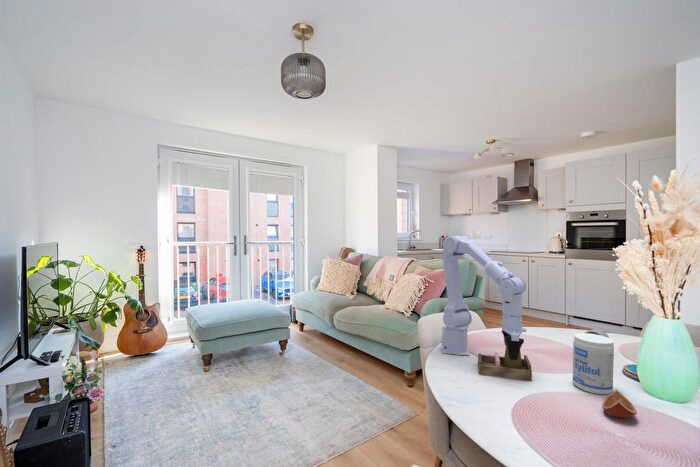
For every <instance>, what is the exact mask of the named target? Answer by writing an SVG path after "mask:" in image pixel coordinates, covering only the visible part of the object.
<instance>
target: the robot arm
mask: <svg viewBox="0 0 700 467" xmlns="http://www.w3.org/2000/svg"><path fill="white" fill-rule="evenodd" d="M442 249H443V252H442V262H443V263H442V264H443V271H444V280H445V289H446V294H447V304H446V305H445V306H444V308H443V316H442V320H443V324H444V325H445V326H442V328H441V353H442V354H447V355H448V354H450V355H458V356H459V355H460V356H469V355H470V354H469V353H470V352H469V350H470V349H469V347H468V342H469V341H468V337H469V336H468V329H469V325H471V324H472V321H473V317H472V314H471V312H470V309H469V305H468V304H466V303H465V302H464V299H463V298H464V297H463V291H462V283H461V282H462V281H461V275H460V274H461V273H460V269H459V260H460V259H461V258H462V256H463V255H465V254H467V255H469V256H470V257H471V258H472V259H474V260H475V261H476V262H477V263H479V264H480V265H481V266H482V267H484V273H485V274H486V275H487V277H489V278H490V279H491V280H492V281H493V282H494V283H495V284H496V285H497V287H498V290H499V292H500V295H501V299H502V326H501V333H502V335H503V340H504V339H505V341H506V343H507V347H508V353H509V358H510V360H517V359H518V356H519V351H520V352H521V348H522V346H523V344H524V342H525V339H524V338H520V337H521V335H522V333H527V328H525V327H523V293H525V291H526V289H527V285H526V282H525V280H524V279H523V277H521V276H520V275H514V273H513V272H511V271H509V270H508V268H506V267H505V266H504V263H503V262H502V261H498V260H492V259H491V258H490V257H489V256H488V255H487V253H485V252H484V251H483V250H482V249H481V247H480V246H479V245H478V244H477V243H476V240H475V239H473V238H472V237H471V236H470V235H466V234H463V235H448V236H447V237H445V239H444V240H443V241H442ZM508 336H511V337H508ZM519 338H520V339H519Z"/></svg>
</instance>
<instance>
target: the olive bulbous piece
mask: <svg viewBox="0 0 700 467" xmlns="http://www.w3.org/2000/svg"><path fill="white" fill-rule="evenodd" d="M508 337H511V336H508ZM519 339H521V338H520V337H519ZM503 343H504V345H505V351H504V356H503V357H504V363H503V367H507V368H515V369H523V366H522V359H523V358H522V354H521V350H520V351H519V356H518V359H517V360H510V358H509V353H508V347H507V343H506V341H505V339H504V338H503Z"/></svg>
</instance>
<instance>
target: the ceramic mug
mask: <svg viewBox="0 0 700 467" xmlns="http://www.w3.org/2000/svg"><path fill="white" fill-rule="evenodd" d="M584 333H589V334H596V335H601V336H604V337H607V338H610V337H609V334H608V333H606V332H605V331H604V330H602V329H597V328H594V329H590V330H587V331H584Z"/></svg>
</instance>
